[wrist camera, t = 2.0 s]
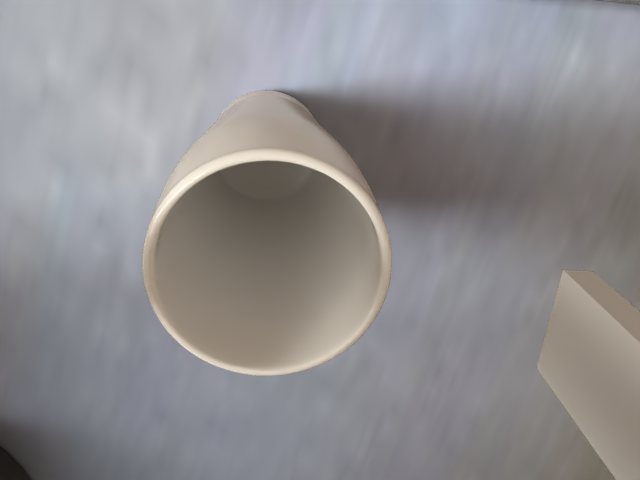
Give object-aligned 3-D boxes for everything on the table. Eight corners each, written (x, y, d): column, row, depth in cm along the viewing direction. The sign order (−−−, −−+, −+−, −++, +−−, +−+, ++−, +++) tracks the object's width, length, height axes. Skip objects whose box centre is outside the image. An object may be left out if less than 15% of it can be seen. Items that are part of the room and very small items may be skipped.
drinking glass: (283, 43, 28) (302, 90, 14) (360, 159, 30) (442, 297, 16) (168, 126, 29) (80, 247, 15) (251, 232, 31) (242, 420, 17)
